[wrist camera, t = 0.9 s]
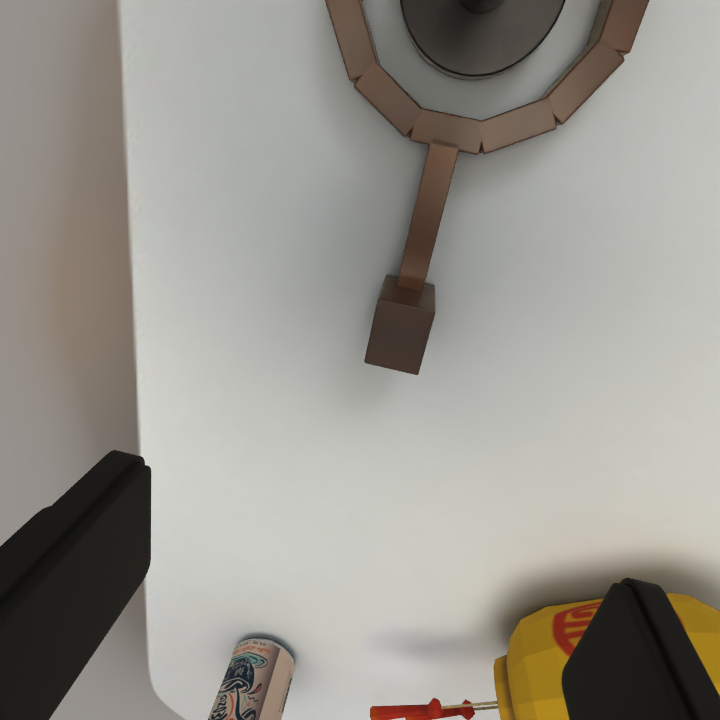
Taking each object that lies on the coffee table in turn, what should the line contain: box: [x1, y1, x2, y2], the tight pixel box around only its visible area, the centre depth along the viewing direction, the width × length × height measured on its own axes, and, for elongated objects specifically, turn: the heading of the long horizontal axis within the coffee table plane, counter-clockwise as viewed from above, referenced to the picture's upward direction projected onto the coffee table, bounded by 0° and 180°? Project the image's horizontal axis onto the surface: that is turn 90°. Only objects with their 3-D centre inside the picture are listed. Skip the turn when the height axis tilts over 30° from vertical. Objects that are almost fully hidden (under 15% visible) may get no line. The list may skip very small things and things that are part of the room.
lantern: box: [370, 593, 720, 720], centre depth 26 cm, size 10×10×30 cm
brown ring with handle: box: [325, 0, 649, 375], centre depth 18 cm, size 20×11×4 cm, turn 169°
